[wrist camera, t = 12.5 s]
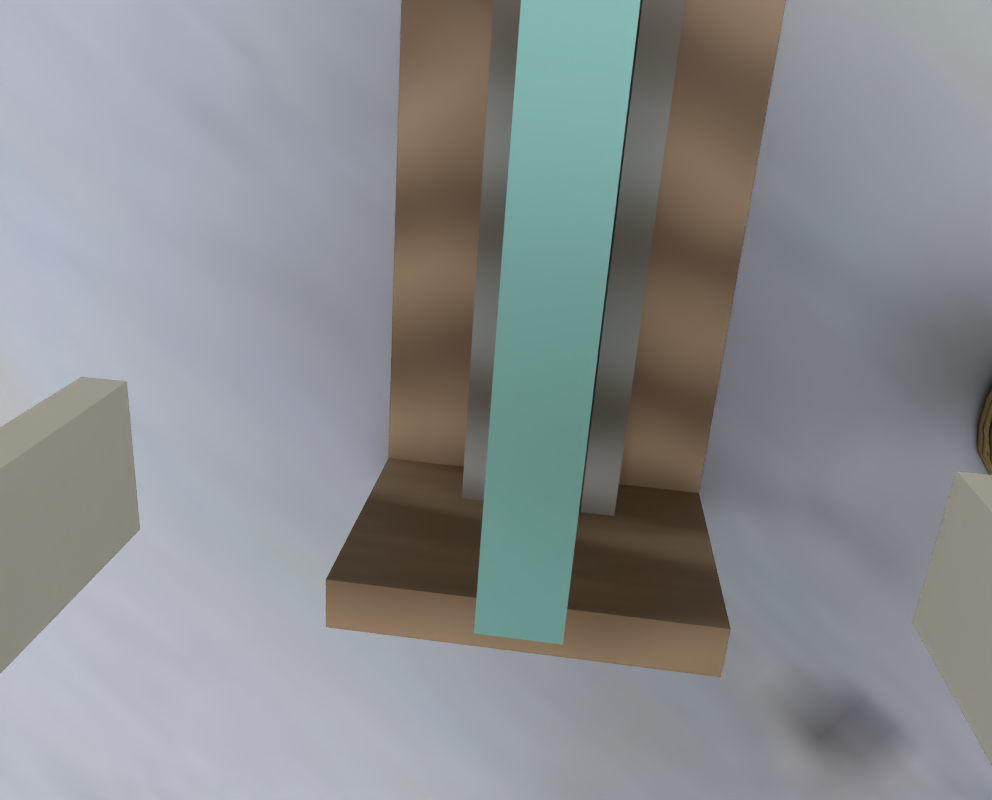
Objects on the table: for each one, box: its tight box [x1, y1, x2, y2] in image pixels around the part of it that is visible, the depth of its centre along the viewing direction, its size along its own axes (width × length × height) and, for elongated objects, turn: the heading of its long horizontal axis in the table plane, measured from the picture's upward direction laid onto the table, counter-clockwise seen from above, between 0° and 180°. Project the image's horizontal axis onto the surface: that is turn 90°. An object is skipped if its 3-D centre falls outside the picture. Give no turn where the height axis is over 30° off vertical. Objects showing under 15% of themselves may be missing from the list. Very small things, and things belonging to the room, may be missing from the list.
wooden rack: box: [326, 0, 786, 677], centre depth 31 cm, size 26×14×12 cm, turn 176°
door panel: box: [474, 0, 641, 645], centre depth 28 cm, size 16×2×16 cm, turn 176°
